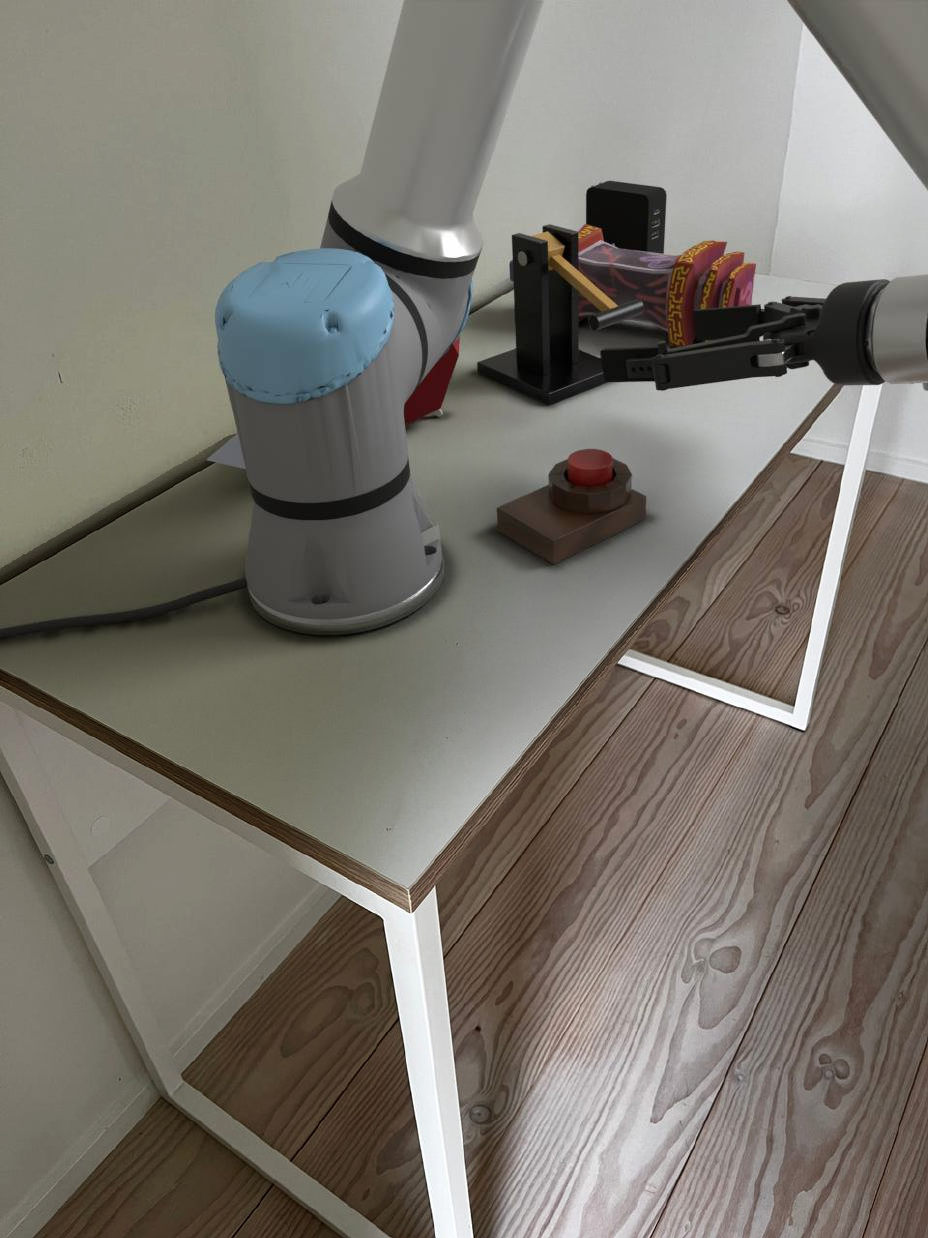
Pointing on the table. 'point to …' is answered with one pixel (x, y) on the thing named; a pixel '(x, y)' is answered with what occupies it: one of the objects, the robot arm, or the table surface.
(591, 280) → the red patterned flared cylinder
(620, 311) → the light lever
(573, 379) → the switch bracket
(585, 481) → the light button
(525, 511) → the switch block
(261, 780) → the table surface
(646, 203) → the electronic device
